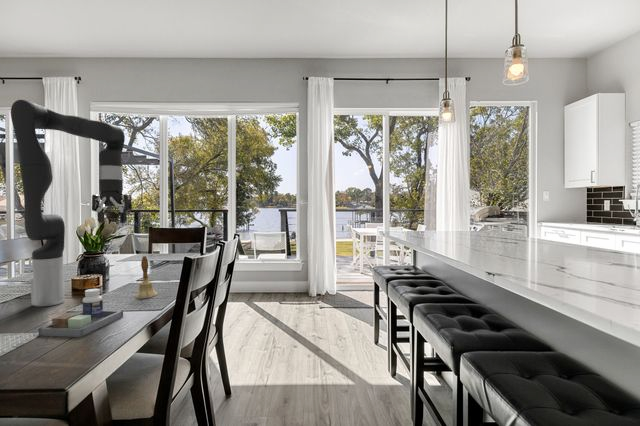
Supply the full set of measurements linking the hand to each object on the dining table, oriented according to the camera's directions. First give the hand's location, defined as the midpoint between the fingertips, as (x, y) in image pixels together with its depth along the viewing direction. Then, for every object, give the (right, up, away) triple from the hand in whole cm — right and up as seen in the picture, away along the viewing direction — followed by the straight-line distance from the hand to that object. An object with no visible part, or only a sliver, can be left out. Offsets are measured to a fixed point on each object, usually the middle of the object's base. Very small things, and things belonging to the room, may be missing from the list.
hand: (112, 222), depth 137 cm
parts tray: (+5, -31, -25) cm, 40 cm away
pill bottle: (+6, -30, -21) cm, 37 cm away
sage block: (+7, -31, -29) cm, 43 cm away
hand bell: (+7, -30, +12) cm, 33 cm away
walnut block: (+2, -31, -29) cm, 42 cm away
